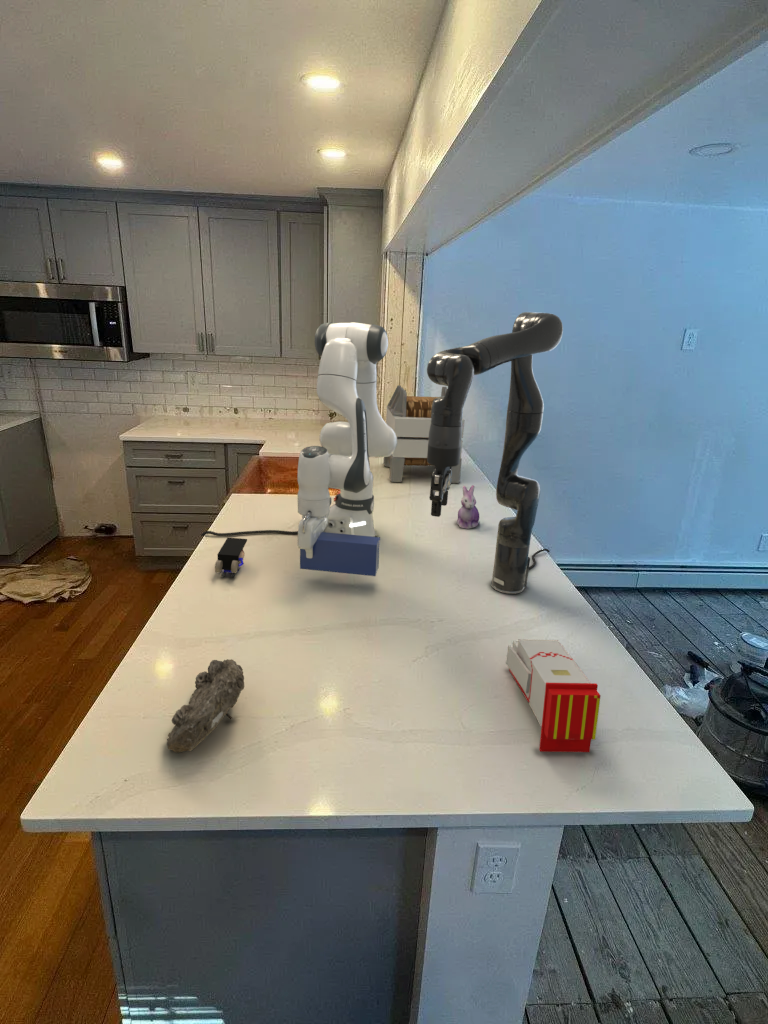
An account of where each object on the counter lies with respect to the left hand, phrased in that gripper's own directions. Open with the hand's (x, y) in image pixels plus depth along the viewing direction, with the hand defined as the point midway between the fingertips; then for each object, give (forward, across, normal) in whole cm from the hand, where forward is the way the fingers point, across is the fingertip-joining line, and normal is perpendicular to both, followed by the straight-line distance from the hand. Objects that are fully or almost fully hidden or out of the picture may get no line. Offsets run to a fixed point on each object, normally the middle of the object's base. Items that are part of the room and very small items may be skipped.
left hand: (313, 552), depth 161 cm
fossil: (+10, -60, +4) cm, 61 cm away
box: (+4, 0, -8) cm, 9 cm away
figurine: (+8, +57, -44) cm, 72 cm away
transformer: (+7, +122, -21) cm, 124 cm away
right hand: (-21, -16, -35) cm, 44 cm away
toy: (+10, -43, -60) cm, 74 cm away
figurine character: (+9, +1, +25) cm, 26 cm away
